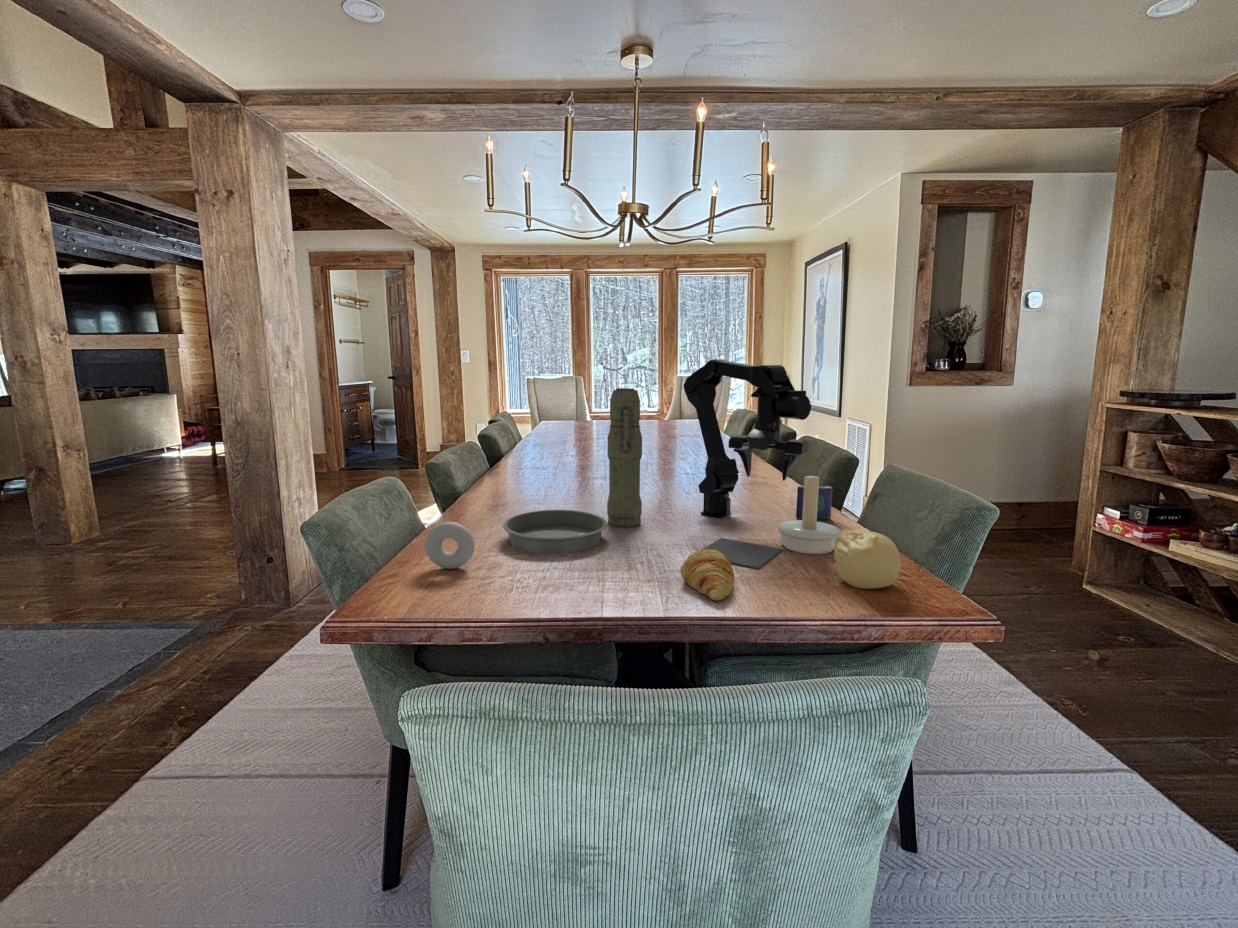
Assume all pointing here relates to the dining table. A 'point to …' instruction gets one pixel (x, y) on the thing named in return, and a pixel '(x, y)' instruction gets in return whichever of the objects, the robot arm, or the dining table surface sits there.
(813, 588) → the dining table surface
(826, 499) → the flask
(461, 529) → the donut
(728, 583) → the croissant
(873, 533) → the sculpture
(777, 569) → the dining table surface
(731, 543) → the mat
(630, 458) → the thermos
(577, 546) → the cake pan
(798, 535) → the lid
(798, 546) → the bowl
